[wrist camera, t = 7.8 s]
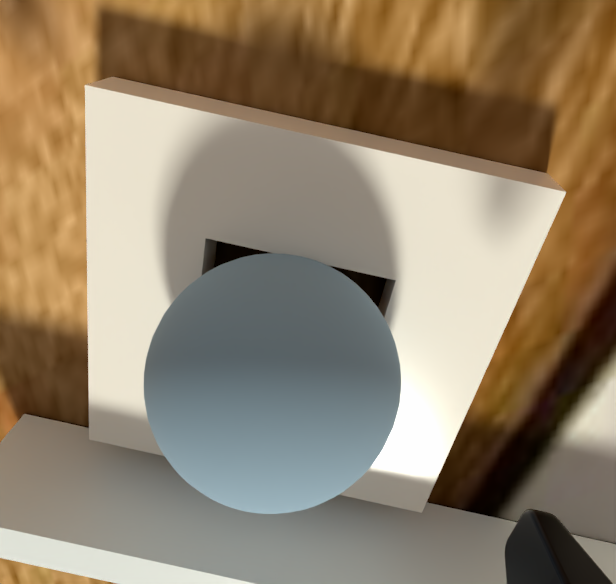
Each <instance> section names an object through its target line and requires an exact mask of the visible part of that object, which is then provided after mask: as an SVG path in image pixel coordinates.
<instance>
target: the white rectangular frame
mask: <svg viewBox="0 0 616 584" xmlns="http://www.w3.org/2000/svg"><path fill="white" fill-rule="evenodd" d="M85 132H86V218H87V305H88V392H89V440H94V441H98V442H103V443H107V444H112V445H116V446H121V447H125V448H130V449H134V450H139V451H143V452H148V453H153V454H157V455H162V456H164V454H163V453H162V452H161V450H160V448H159V446H158V444H157V442H156V440H155V437H154V435H153V432H152V430H151V427H150V424H149V421H148V417H147V412H146V406H145V400H144V370H145V363H146V357H147V353H148V350H149V346H150V343H151V340H152V337H153V335H154V333H155V331H156V329H157V327H158V325H159V323H160V321H161V319H162V317H163V315H164V313H165V312H166V311H167V309H168V308H169V307H170V305H171V304H172V303H173V301H174V300H175V299H176V298H177V297H178V295H179V294H180V293H181V292H182V291H183V290H184V289H185V288H186V287H188V286H189V285H190V284H191V283H192V282H194V281H195V280H196V279H198V278H199V277H201V276H202V275H203V274H205V273H206V272H208V271H210V270H212V269H213V268H214V263H215V255H216V246H217V241H221V242H225V243H230V244H234V245H239V246H243V247H248V248H252V249H257V250H261V251H266V252H270V253H276V254H290V255H296V256H302V257H305V258H309V259H312V260H316V261H318V262H321V263H323V264H325V265H329V266H333V267H338V268H342V269H347V270H351V271H356V272H360V273H365V274H369V275H374V276H378V277H383V278H387V280H386V283H385V286H384V290H383V293H382V296H381V300H380V303H379V306H378V309H379V310H380V312H381V313H382V315H383V317H384V319H385V320H386V322H387V324H388V326H389V328H390V331H391V333H392V336H393V338H394V341H395V344H396V348H397V353H398V357H399V362H400V370H401V394H400V404H399V408H398V412H397V416H396V420H395V424H394V427H393V429H392V431H391V434H390V436H389V438H388V440H387V442H386V444H385V446H384V449H383V450H382V452H381V453H380V455H379V456H378V458H377V459H376V460H375V462H374V463H373V464H372V466H371V467H370V468H369V469H368V470H367V472H366V473H365V474H364V475H363V476H362V477H361V478H360V479H358V480H357V481H356V482H355V483H354V484H353V485H351V486H350V487H349V488H348V489H346V490H345V491H344V492H342V493H341V494H339V495H343V496H348V497H352V498H357V499H361V500H366V501H370V502H375V503H379V504H384V505H388V506H393V507H398V508H402V509H407V510H411V511H416V512H420V513H422V511H423V509H424V507H425V504H426V502H427V500H428V498H429V496H430V493H431V491H432V489H433V487H434V484H435V482H436V480H437V478H438V476H439V473H440V471H441V469H442V467H443V464H444V462H445V460H446V458H447V456H448V453H449V451H450V449H451V447H452V445H453V442H454V440H455V438H456V436H457V433H458V431H459V429H460V427H461V425H462V422H463V420H464V418H465V416H466V413H467V411H468V409H469V407H470V405H471V402H472V400H473V398H474V396H475V394H476V391H477V389H478V387H479V385H480V382H481V380H482V378H483V376H484V374H485V371H486V369H487V367H488V365H489V362H490V360H491V358H492V356H493V354H494V351H495V349H496V347H497V345H498V342H499V340H500V338H501V336H502V334H503V331H504V329H505V327H506V325H507V323H508V320H509V318H510V316H511V314H512V311H513V309H514V307H515V305H516V303H517V300H518V298H519V296H520V294H521V291H522V289H523V287H524V285H525V283H526V280H527V278H528V276H529V274H530V271H531V269H532V267H533V265H534V263H535V260H536V258H537V256H538V254H539V252H540V249H541V247H542V245H543V243H544V240H545V238H546V236H547V234H548V232H549V229H550V227H551V225H552V223H553V220H554V218H555V216H556V214H557V212H558V209H559V207H560V205H561V203H562V200H563V198H564V196H565V194H566V191H565V190H564V189H563V188H562V187H561V186H560V185H559V184H558V183H557V182H556V181H555V180H554V179H553V178H552V177H551V176H550V175H549V174H548V173H543V172H539V171H534V170H530V169H526V168H521V167H517V166H512V165H508V164H503V163H499V162H494V161H490V160H485V159H481V158H476V157H472V156H467V155H463V154H458V153H454V152H449V151H445V150H440V149H436V148H431V147H427V146H422V145H418V144H413V143H409V142H404V141H400V140H395V139H391V138H386V137H382V136H377V135H373V134H368V133H364V132H359V131H355V130H350V129H346V128H341V127H337V126H332V125H328V124H323V123H319V122H314V121H310V120H305V119H301V118H297V117H292V116H288V115H283V114H279V113H274V112H270V111H265V110H261V109H256V108H252V107H247V106H243V105H238V104H234V103H229V102H225V101H220V100H216V99H211V98H207V97H202V96H198V95H193V94H189V93H184V92H180V91H175V90H171V89H166V88H162V87H157V86H153V85H148V84H144V83H139V82H135V81H130V80H126V79H121V78H117V77H109V78H106V79H103V80H100V81H96V82H93V83H90V84H86V85H85Z"/></svg>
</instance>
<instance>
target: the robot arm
mask: <svg viewBox="0 0 616 584" xmlns="http://www.w3.org/2000/svg"><path fill="white" fill-rule="evenodd" d="M505 567H506V581H507V584H613V583H612V582H611V581H610V579H609V578H608V577H607V576H606V575H605V574H604V572H603V571H602V570H601V569H600V568H599V566H598V565H597V564H596V563H595V562H594V561H593V559H592V558H591V557H590V556H589V555H588V553H587V552H586V551H585V550H584V549H583V548H582V546H581V545H580V544H579V543H578V542H577V541H576V539H575V538H574V537H573V536H572V535H571V533H570V532H569V531H568V530H567V529H566V528H565V526H564V525H563V524H562V523H561V522H560V520H559V519H558V518H557V517H556V516H554V515H553V514H551V513H547V512H542V511H538V510H533V509H528V510H526V511H524V513H523V514H522V515H521V517H520V519H519V521H518V522H517V524H516V526H515V527H514V529H513V531H512V532H511V534H510V536H509V537H508V539H507V542H506V546H505Z"/></svg>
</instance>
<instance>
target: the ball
mask: <svg viewBox="0 0 616 584" xmlns="http://www.w3.org/2000/svg"><path fill="white" fill-rule="evenodd" d="M400 394H401V370H400V362H399V357H398V353H397V348H396V344H395V341H394V338H393V336H392V333H391V331H390V328H389V326H388V324H387V322H386V320H385V319H384V317H383V315H382V313H381V312H380V310H379V309H378V307H377V306H376V305H375V303H374V302H373V301H372V300H371V298H370V297H369V296H368V295H367V294H366V293H365V292H364V291H363V290H362V289H361V288H360V287H359V286H358V285H357V284H356V283H355V282H353V281H352V280H351V279H349V278H348V277H347V276H345V275H344V274H343V273H341V272H339V271H337V270H335V269H334V268H332V267H330V266H328V265H325V264H323V263H321V262H318V261H316V260H312V259H309V258H305V257H302V256H296V255H290V254H276V253H267V254H255V255H251V256H246V257H241V258H238V259H235V260H232V261H230V262H227V263H224V264H221V265H219V266H217V267H215V268H213V269H212V270H210V271H208V272H206V273H205V274H203V275H202V276H201V277H199V278H198V279H196V280H195V281H194V282H192V283H191V284H190V285H189V286H188V287H186V288H185V289H184V290H183V291H182V292H181V293H180V294H179V295H178V297H177V298H176V299H175V300H174V301H173V303H172V304H171V305H170V307H169V308H168V309H167V311H166V312H165V313H164V315H163V317H162V319H161V321H160V323H159V325H158V327H157V329H156V331H155V333H154V335H153V337H152V340H151V343H150V346H149V350H148V353H147V357H146V363H145V370H144V400H145V406H146V412H147V417H148V421H149V424H150V427H151V430H152V432H153V435H154V437H155V440H156V442H157V444H158V446H159V448H160V450H161V452H162V453H163V454H164V456H165V457H166V459H167V460H168V462H169V463H170V464H171V466H172V467H173V468H174V469H175V471H176V472H177V473H178V474H179V475H180V476H181V477H182V478H183V479H184V480H185V481H186V482H187V483H188V484H190V485H191V486H192V487H194V488H195V489H196V490H198V491H199V492H201V493H202V494H204V495H205V496H207V497H209V498H210V499H212V500H214V501H216V502H218V503H220V504H223V505H225V506H228V507H231V508H234V509H237V510H241V511H245V512H251V513H260V514H280V513H289V512H295V511H300V510H305V509H308V508H311V507H314V506H317V505H319V504H321V503H324V502H326V501H328V500H330V499H332V498H334V497H336V496H337V495H339V494H341V493H342V492H344V491H345V490H346V489H348V488H349V487H350V486H351V485H353V484H354V483H355V482H356V481H357V480H358V479H360V478H361V477H362V476H363V475H364V474H365V473H366V472H367V470H368V469H369V468H370V467H371V466H372V464H373V463H374V462H375V460H376V459H377V458H378V456H379V455H380V453H381V452H382V450H383V449H384V446H385V444H386V442H387V440H388V438H389V436H390V434H391V431H392V429H393V427H394V424H395V420H396V416H397V412H398V408H399V404H400Z"/></svg>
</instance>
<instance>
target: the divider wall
mask: <svg viewBox="0 0 616 584" xmlns="http://www.w3.org/2000/svg"><path fill="white" fill-rule="evenodd" d="M516 524H517V522H513V521H509V520H504V519H500V518H495V517H491V516H486V515H481V514H477V513H472V512H468V511H463V510H459V509H454V508H450V507H445V506H441V505H436V504H432V503H427V502H426V504H425V507H424V509H423V511H422V513H420V512H416V511H411V510H407V509H402V508H398V507H393V506H388V505H384V504H379V503H375V502H370V501H366V500H361V499H357V498H352V497H348V496H343V495H337V496H336V497H334V498H332V499H330V500H328V501H326V502H324V503H321V504H319V505H317V506H314V507H311V508H308V509H305V510H300V511H295V512H289V513H280V514H260V513H251V512H245V511H241V510H237V509H234V508H231V507H228V506H225V505H223V504H220V503H218V502H216V501H214V500H212V499H210V498H209V497H207V496H205V495H204V494H202V493H201V492H199V491H198V490H196V489H195V488H194V487H192V486H191V485H190V484H188V483H187V482H186V481H185V480H184V479H183V478H182V477H181V476H180V475H179V474H178V473H177V472H176V471H175V469H174V468H173V467H172V466H171V464H170V463H169V462H168V460H167V459H166V457H165V456H162V455H157V454H153V453H148V452H143V451H139V450H134V449H130V448H125V447H121V446H116V445H112V444H107V443H103V442H98V441H94V440H89V428H87V427H82V426H78V425H73V424H69V423H64V422H60V421H55V420H51V419H46V418H42V417H37V416H33V415H28V414H24V415H23V416H22V417H21V418H20V419H19V421H18V422H17V423H16V424H15V425H14V427H13V428H12V429H11V430H10V431H9V433H8V434H7V435H6V436H5V437H4V439H3V440H2V441H1V442H0V558H4V559H8V560H13V561H17V562H22V563H26V564H31V565H36V566H40V567H45V568H49V569H54V570H58V571H63V572H67V573H72V574H77V575H81V576H86V577H90V578H95V579H99V580H104V581H108V582H113V583H117V584H507V581H506V567H505V546H506V542H507V539H508V537H509V536H510V534H511V532H512V531H513V529H514V527H515V526H516ZM571 535H572V534H571ZM572 536H573V537H574V538H575V539H576V541H577V542H578V543H579V544H580V545H581V546H582V548H583V549H584V550H585V551H586V552H587V553H588V555H589V556H590V557H591V558H592V559H593V561H594V562H595V563H596V564H597V565H598V566H599V568H600V569H601V570H602V571H603V572H604V574H605V575H606V576H607V577H608V578H609V579H610V581H611V582H612V583H613V584H616V544H613V543H608V542H604V541H599V540H595V539H590V538H586V537H581V536H577V535H572Z"/></svg>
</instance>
